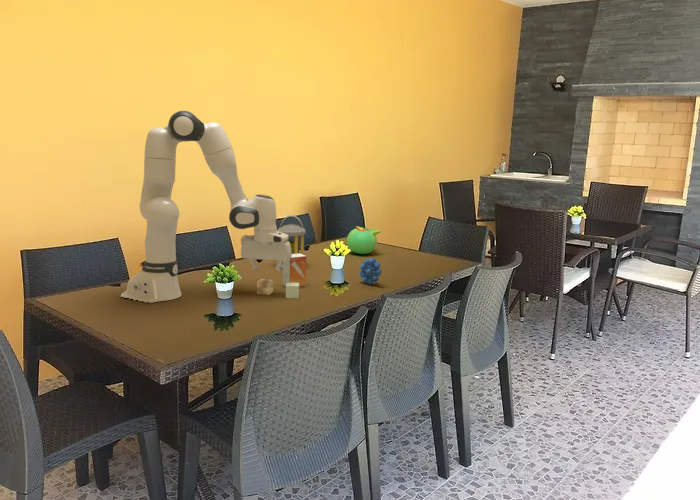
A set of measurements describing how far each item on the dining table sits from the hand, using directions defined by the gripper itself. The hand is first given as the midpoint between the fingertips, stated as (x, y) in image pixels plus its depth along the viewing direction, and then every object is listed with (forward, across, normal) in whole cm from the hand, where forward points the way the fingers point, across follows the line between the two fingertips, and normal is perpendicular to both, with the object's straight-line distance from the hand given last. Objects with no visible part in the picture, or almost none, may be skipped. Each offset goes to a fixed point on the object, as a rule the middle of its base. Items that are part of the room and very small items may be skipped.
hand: (266, 270), depth 230 cm
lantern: (+10, -4, +44) cm, 46 cm away
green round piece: (+11, +24, +85) cm, 89 cm away
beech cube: (+9, -1, -1) cm, 9 cm away
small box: (+10, +7, +13) cm, 18 cm away
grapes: (+11, +38, +24) cm, 47 cm away
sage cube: (+10, +11, -3) cm, 15 cm away
